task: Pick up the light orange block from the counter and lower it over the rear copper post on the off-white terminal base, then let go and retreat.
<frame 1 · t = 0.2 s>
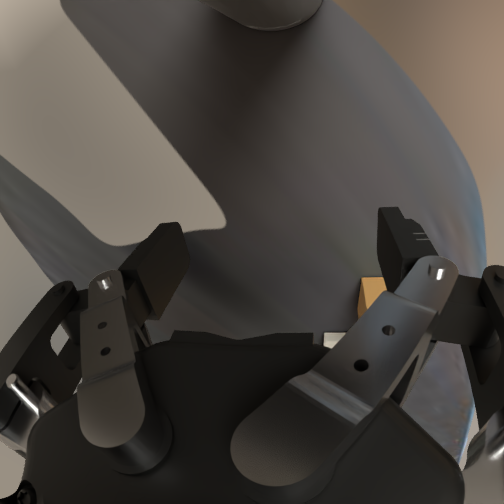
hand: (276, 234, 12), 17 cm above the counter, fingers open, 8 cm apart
light orange block: (379, 293, 34), on the counter
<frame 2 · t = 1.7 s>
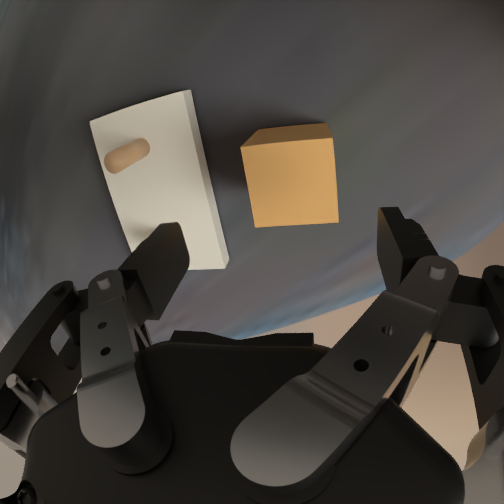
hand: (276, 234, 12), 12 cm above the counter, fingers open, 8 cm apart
terminal base: (162, 187, 25), on the counter
light orange block: (296, 158, 22), on the counter
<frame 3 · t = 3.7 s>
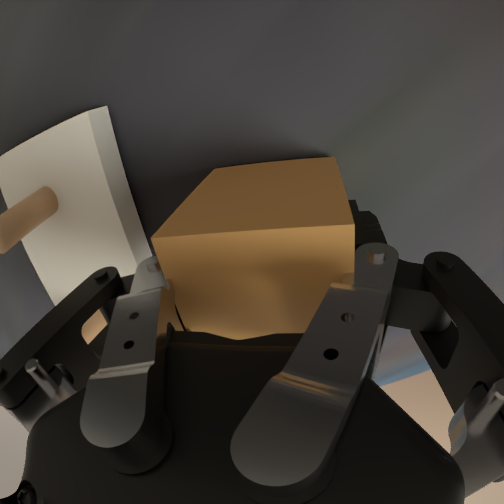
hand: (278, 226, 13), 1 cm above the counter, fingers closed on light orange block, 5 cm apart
terminal base: (88, 250, 16), on the counter
light orange block: (281, 216, 13), on the counter, touching gripper
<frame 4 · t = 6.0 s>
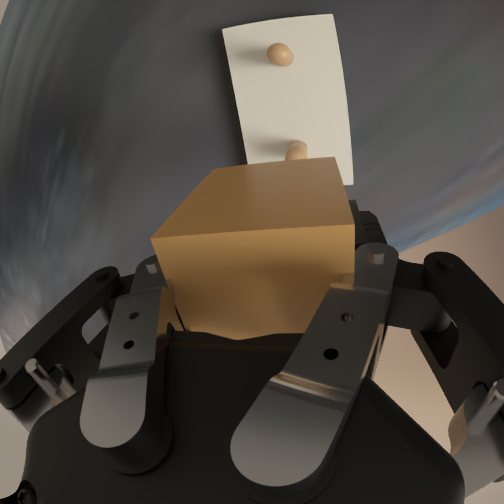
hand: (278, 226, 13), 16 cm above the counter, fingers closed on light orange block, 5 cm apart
terminal base: (292, 102, 24), on the counter
light orange block: (281, 216, 13), point 15 cm above the counter, touching gripper
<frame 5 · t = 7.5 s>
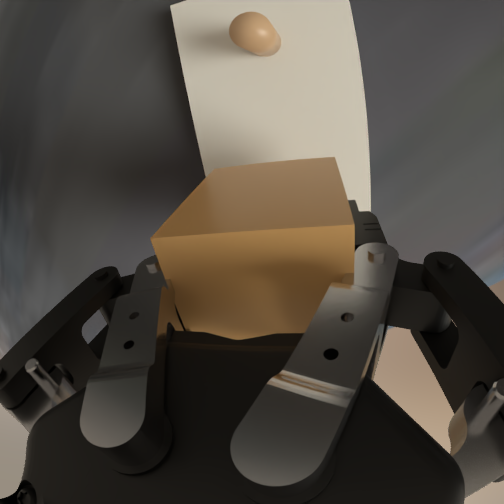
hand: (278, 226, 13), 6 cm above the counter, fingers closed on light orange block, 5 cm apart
terminal base: (280, 112, 16), on the counter
light orange block: (280, 217, 13), point 5 cm above the counter, touching gripper
when the fingers open (4 cm above the counter, at t = 8.7 s): light orange block drops 2 cm, resting on terminal base.
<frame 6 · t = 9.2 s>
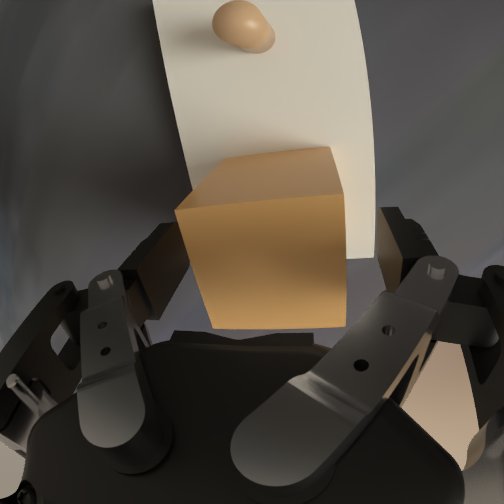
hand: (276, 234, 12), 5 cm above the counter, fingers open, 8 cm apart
terminal base: (275, 116, 14), on the counter
light orange block: (283, 201, 15), point 1 cm above the counter, touching terminal base
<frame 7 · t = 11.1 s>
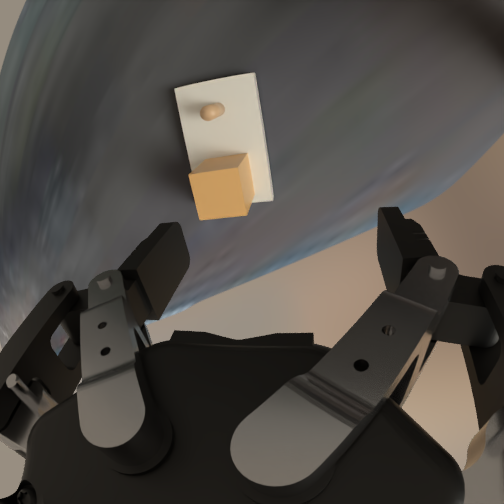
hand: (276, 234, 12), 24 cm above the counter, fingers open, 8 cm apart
terminal base: (226, 141, 34), on the counter
light orange block: (230, 176, 35), point 1 cm above the counter, touching terminal base
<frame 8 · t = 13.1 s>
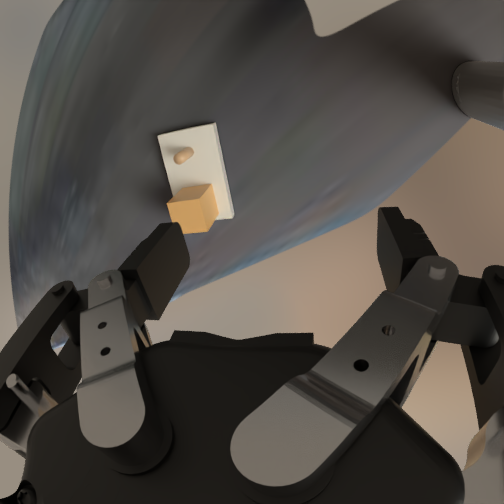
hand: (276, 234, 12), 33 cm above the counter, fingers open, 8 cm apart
terminal base: (198, 173, 46), on the counter
light orange block: (200, 200, 47), point 1 cm above the counter, touching terminal base
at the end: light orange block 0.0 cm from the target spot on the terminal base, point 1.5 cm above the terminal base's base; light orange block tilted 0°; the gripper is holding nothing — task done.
